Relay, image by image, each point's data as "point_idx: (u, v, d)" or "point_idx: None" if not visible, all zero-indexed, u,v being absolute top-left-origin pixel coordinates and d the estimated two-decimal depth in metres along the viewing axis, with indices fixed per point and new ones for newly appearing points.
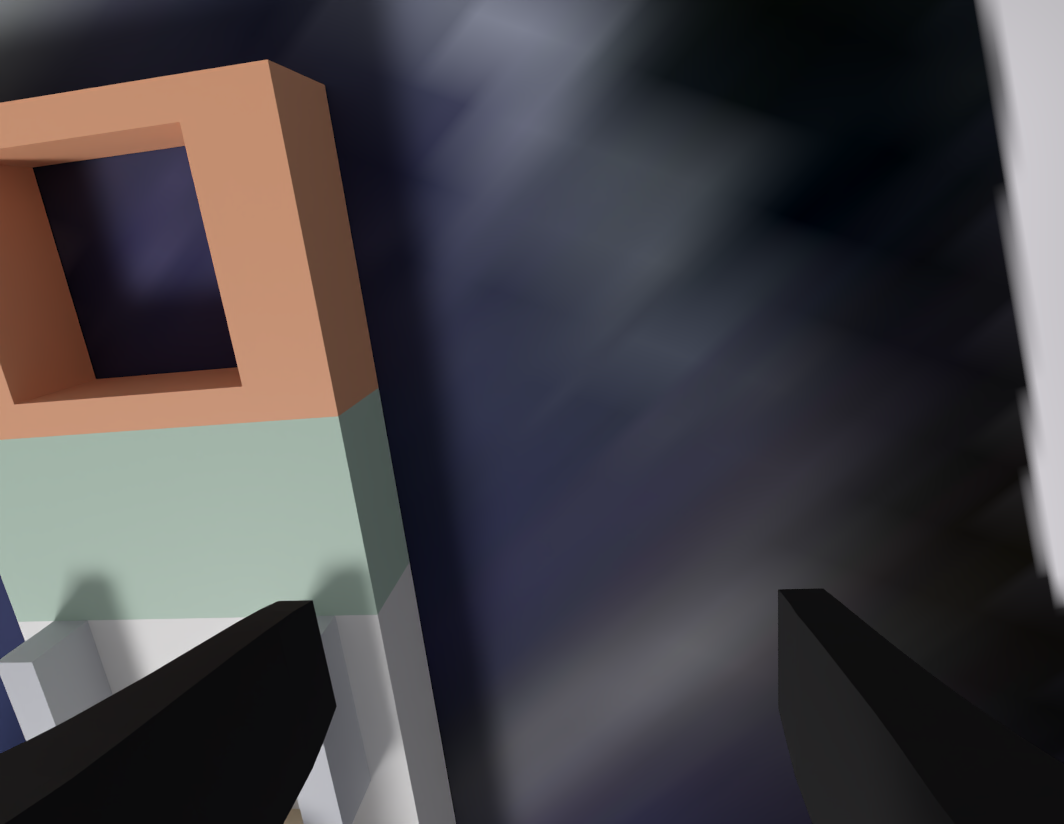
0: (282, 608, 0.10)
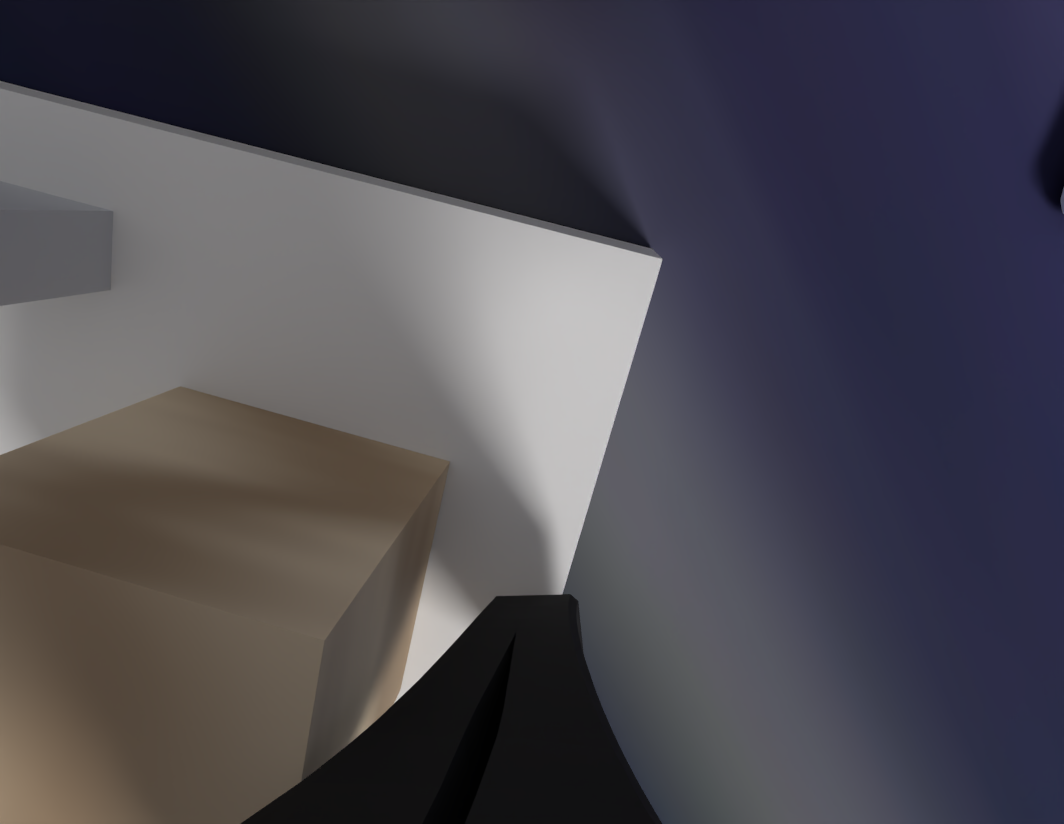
0: (511, 603, 0.09)
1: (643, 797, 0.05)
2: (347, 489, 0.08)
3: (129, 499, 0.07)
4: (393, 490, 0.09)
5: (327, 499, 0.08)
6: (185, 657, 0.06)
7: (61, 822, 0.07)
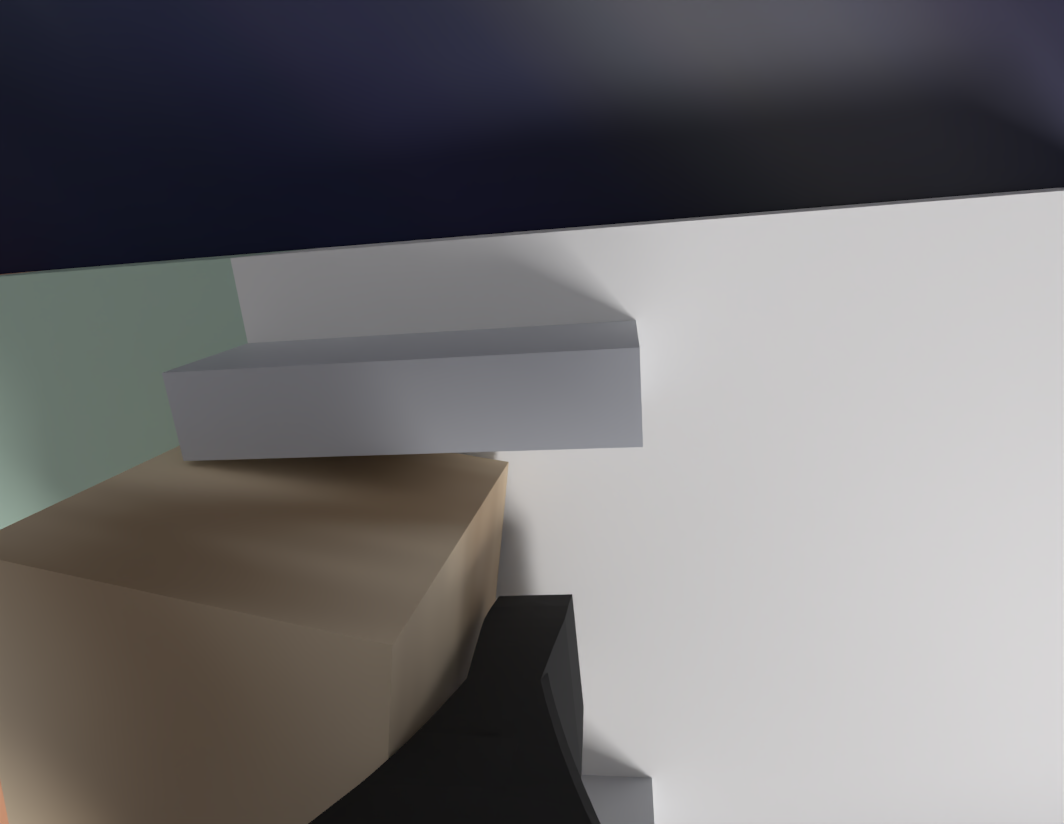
0: (550, 602, 0.09)
1: (584, 796, 0.05)
2: (407, 497, 0.08)
3: (194, 524, 0.07)
4: (453, 494, 0.09)
5: (387, 507, 0.08)
6: (259, 676, 0.06)
7: None
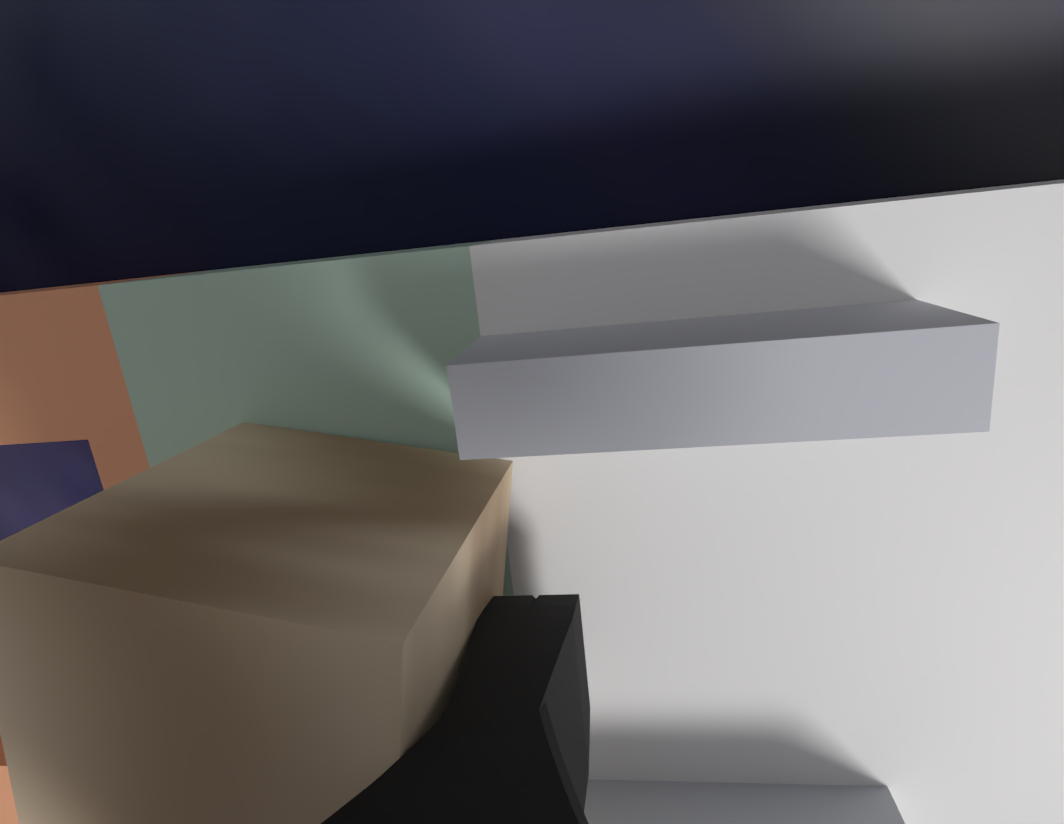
0: (557, 602, 0.09)
1: (572, 795, 0.05)
2: (412, 498, 0.08)
3: (201, 528, 0.07)
4: (458, 494, 0.09)
5: (394, 508, 0.08)
6: (269, 677, 0.06)
7: None
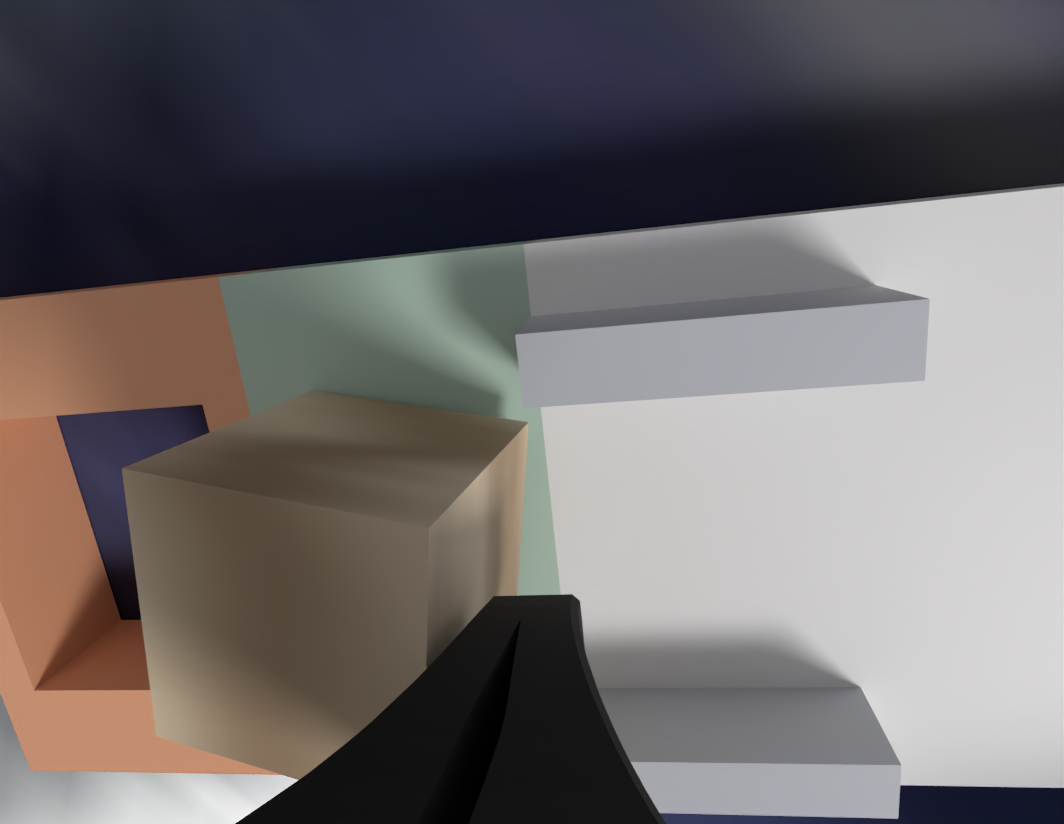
0: (508, 603, 0.09)
1: (647, 797, 0.05)
2: (444, 443, 0.11)
3: (283, 457, 0.10)
4: (481, 442, 0.11)
5: (429, 450, 0.10)
6: (334, 556, 0.08)
7: (261, 703, 0.09)
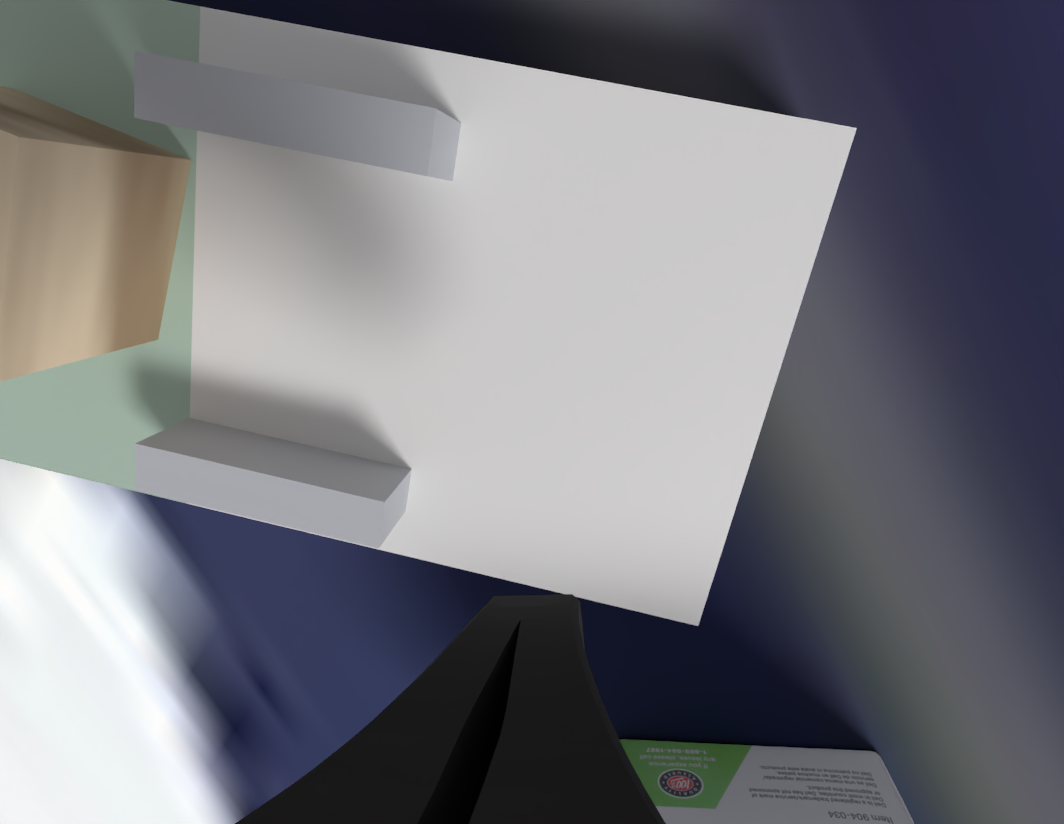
0: (509, 603, 0.09)
1: (647, 797, 0.05)
2: (95, 135, 0.13)
3: None
4: (130, 147, 0.14)
5: (75, 131, 0.13)
6: None
7: None
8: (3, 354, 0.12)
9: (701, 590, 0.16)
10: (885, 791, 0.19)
